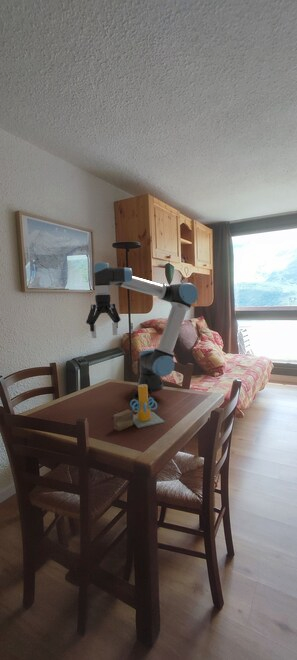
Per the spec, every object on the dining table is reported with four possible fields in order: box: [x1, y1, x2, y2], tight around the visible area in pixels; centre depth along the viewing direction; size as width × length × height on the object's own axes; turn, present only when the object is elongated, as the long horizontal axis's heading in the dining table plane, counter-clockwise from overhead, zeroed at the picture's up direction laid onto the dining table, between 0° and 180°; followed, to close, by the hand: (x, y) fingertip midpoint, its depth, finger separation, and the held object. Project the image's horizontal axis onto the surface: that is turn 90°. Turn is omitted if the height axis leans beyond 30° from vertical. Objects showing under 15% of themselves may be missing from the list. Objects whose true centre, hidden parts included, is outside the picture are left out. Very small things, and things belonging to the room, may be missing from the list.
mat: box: [133, 410, 165, 429], centre depth 131 cm, size 12×13×1 cm
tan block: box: [113, 409, 135, 432], centre depth 124 cm, size 3×8×6 cm, turn 137°
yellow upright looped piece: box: [129, 384, 158, 422], centre depth 129 cm, size 12×10×15 cm
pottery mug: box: [131, 387, 152, 401], centre depth 158 cm, size 12×10×8 cm
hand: (104, 336), depth 152 cm, fingers open, 13 cm apart
